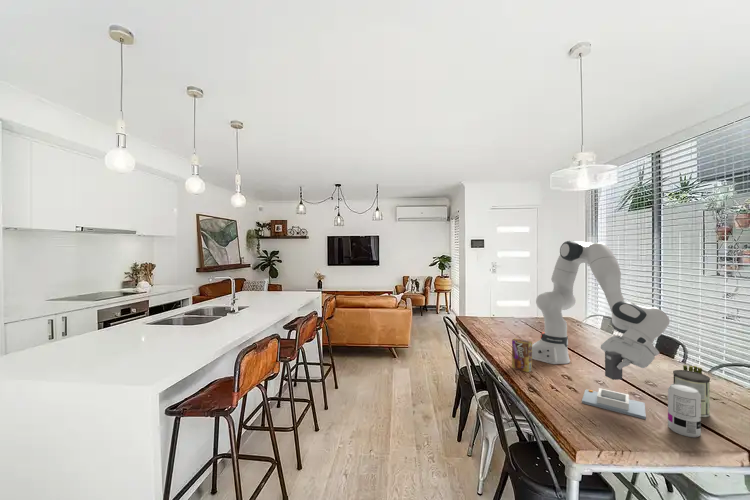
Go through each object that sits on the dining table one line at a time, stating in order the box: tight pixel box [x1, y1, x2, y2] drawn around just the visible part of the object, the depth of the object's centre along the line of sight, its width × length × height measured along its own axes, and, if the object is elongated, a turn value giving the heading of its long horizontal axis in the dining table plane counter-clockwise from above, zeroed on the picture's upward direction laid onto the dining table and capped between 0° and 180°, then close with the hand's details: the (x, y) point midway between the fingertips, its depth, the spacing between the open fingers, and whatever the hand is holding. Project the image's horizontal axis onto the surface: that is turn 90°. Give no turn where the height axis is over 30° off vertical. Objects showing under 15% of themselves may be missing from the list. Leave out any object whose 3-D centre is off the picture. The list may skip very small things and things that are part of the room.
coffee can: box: [672, 369, 711, 418], centre depth 125 cm, size 10×10×14 cm
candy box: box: [511, 338, 533, 373], centre depth 168 cm, size 9×4×15 cm, turn 39°
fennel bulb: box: [682, 364, 703, 374], centre depth 141 cm, size 6×5×12 cm
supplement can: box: [667, 383, 702, 438], centre depth 111 cm, size 8×8×15 cm
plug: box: [604, 351, 623, 381], centre depth 130 cm, size 4×4×10 cm
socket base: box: [581, 387, 647, 420], centre depth 130 cm, size 20×14×4 cm
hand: (612, 365), depth 130 cm, fingers closed on plug, 4 cm apart
